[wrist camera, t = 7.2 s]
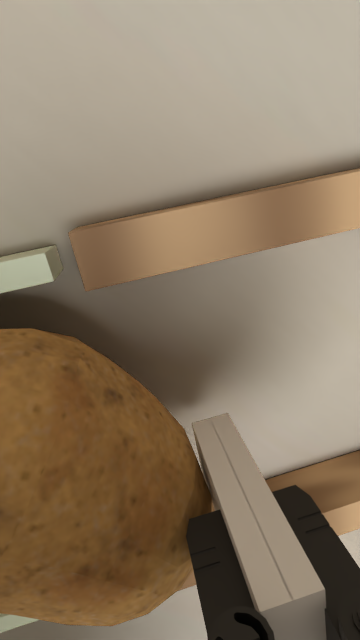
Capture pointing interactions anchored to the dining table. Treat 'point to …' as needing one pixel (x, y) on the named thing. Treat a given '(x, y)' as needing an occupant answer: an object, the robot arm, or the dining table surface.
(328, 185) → the channel
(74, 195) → the dining table surface
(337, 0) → the dining table surface
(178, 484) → the potato
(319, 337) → the dining table surface
